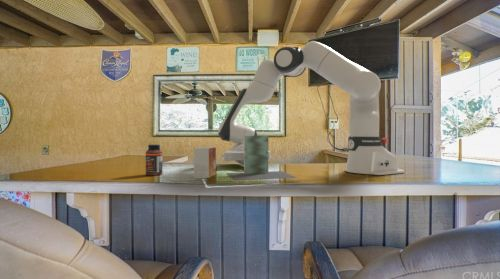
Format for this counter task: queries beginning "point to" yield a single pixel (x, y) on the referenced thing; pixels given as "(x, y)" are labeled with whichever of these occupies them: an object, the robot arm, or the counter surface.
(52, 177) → the counter surface
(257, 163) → the slab
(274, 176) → the mat
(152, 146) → the supplement bottle
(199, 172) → the small box
